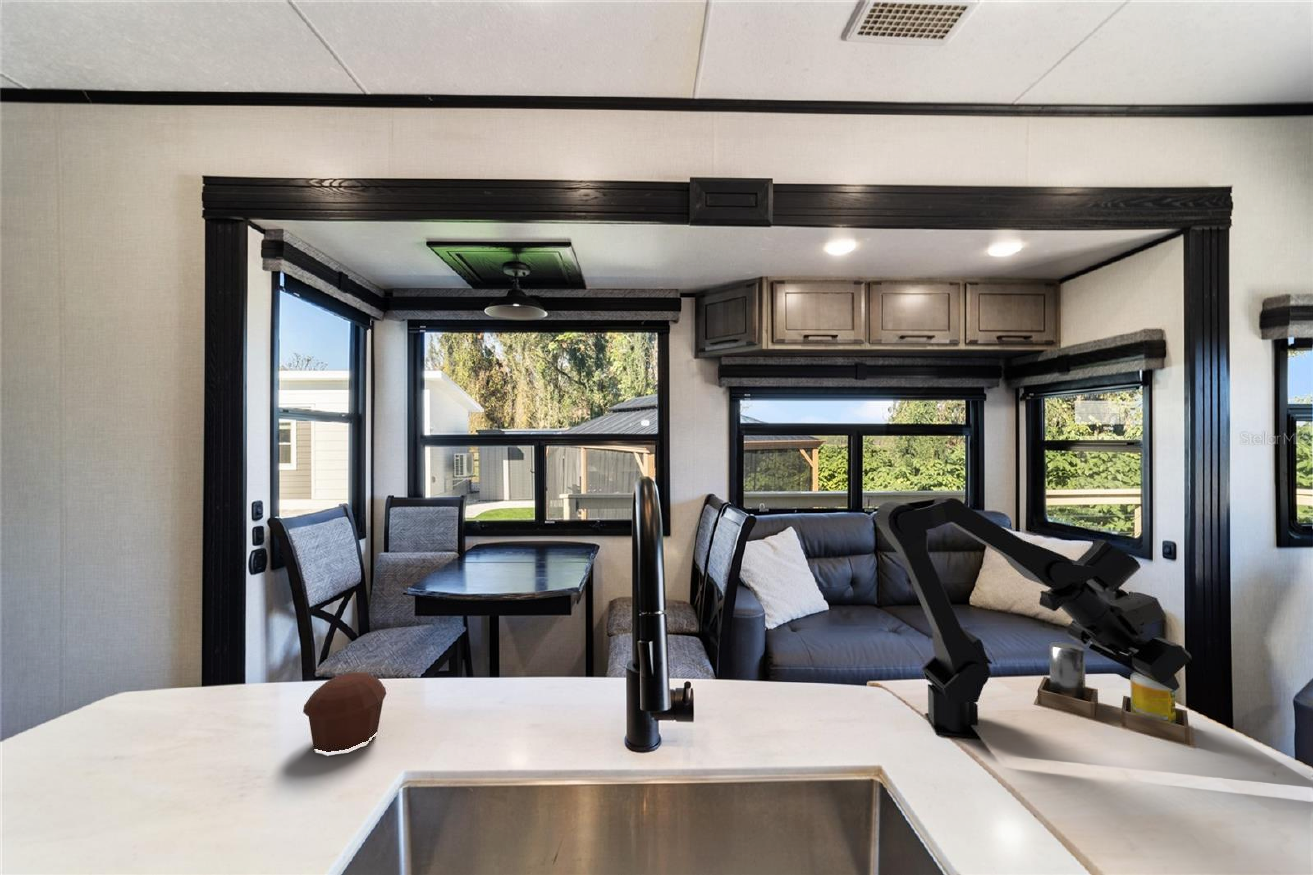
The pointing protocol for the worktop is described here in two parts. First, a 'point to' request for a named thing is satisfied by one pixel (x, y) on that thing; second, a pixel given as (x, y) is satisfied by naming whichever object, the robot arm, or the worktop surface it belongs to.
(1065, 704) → the wooden compartment tray
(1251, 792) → the worktop surface
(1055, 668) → the graphite billet
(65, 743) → the worktop surface
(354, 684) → the muffin
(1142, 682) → the supplement bottle
